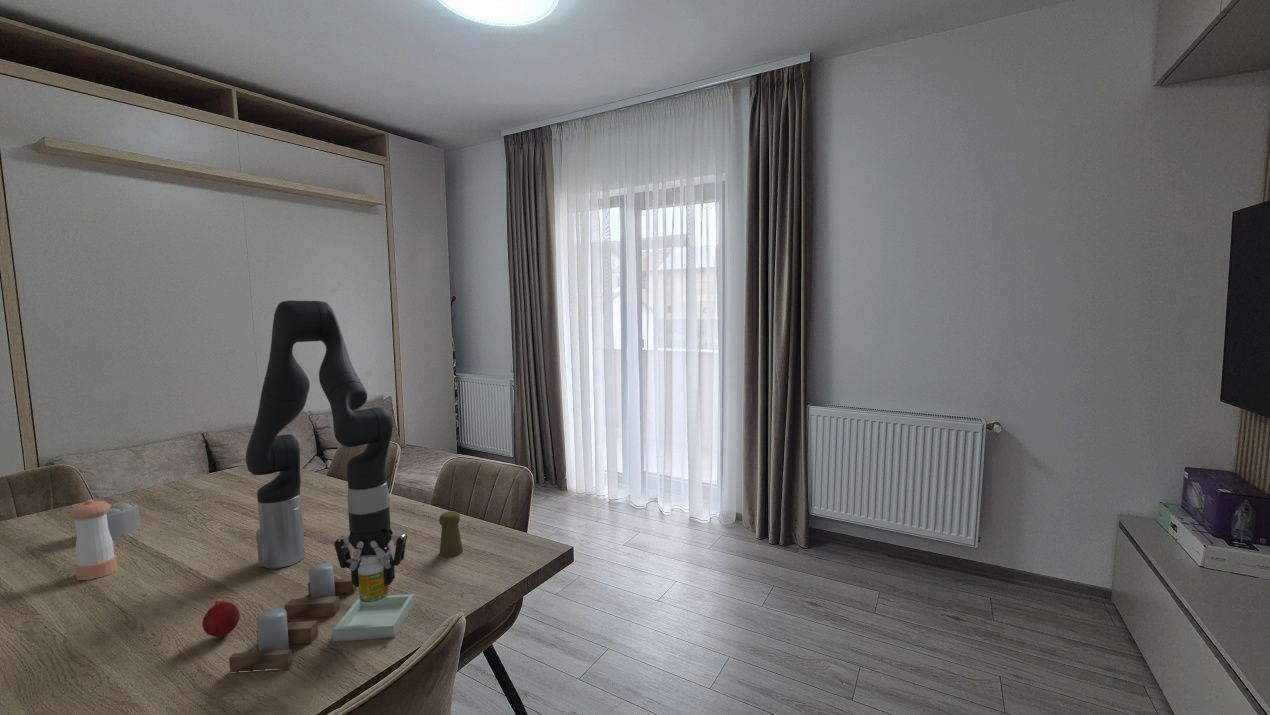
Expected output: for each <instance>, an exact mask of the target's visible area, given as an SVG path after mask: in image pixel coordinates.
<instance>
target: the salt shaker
mask: <svg viewBox="0 0 1270 715" xmlns="http://www.w3.org/2000/svg"><path fill="white" fill-rule="evenodd" d="M109 504H110V503H108V502H107V501H101V500H94V499H87V500H86V501H85V502H84V503H81V504H78V505H77V506H74V507H73V508H72V509H71V511H70V512H69V513H70V514H69V517H70V518H71V519H72V520H74V522H76V523H75V530H76V531H75V532H76V542H75V550H74V553H75V559H76V563H75V565H74V570H75V572H74V573H75V578H76V579H77V581H78V580H87V581H90V580H89V579H93V580H95V579H94V578H97V579H100V578H99V577H101V578H103V577H102V576H104V577H106V576H105V575H107V576H109V575H112V574H113V573H115V572H116V571H117V570H118V559H117V554H115V553H114V552H115V551H114V540H113V539H112V538H111V535H110V532H109V529H108V522H107V514H106V513H108V512H109V510H110V505H111V504H110V505H109ZM114 571H115V572H114ZM108 574H109V575H108Z"/></svg>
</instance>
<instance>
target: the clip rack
mask: <svg viewBox="0 0 1270 715" xmlns="http://www.w3.org/2000/svg"><path fill="white" fill-rule="evenodd" d="M334 584H335V595H338V596H335V597H317V598H311V590H310V581H309V582H307V590H308V593H307V594H308V597H305V598H303V597H302V598H300V597H299V598H290V599H289V601H287V603H286V602H285V603H286V604H284V609H285V610H286V615H287V618H292V619H307V618H322V617H324V618H325V617H335V616H336V615H337V614H338V613H339V612H340V610H341V602H340V596H339V595H346V594H347V595H348V594H355V592H357V587H355V586H354V585H353V584H352V579H351V578H337V579H335V578H334ZM287 628H288V640H289V645H293V644H295V645H296V644H299V645H300V644H311V643H313V642H314V640H315V639H317V637H318V636H319V624H318V620H308V621H303V620H302V621H291V622H290V621H289V622H288V621H287ZM256 636H257V638H256V639H257V640H258V632H257V631H256ZM258 645H259V644H258V643H257V646H258ZM228 660H229V661H228V662H229V671H230V672H239V671H253V670H265V669H288V668H289V667H290V666H291V665H292V666H293V655H292V649H289V650H278V651H262V652H259V651H250V652H234V653H232V654H231V655H230V656H229V658H228ZM292 666H291V667H292ZM291 667H290V668H291ZM290 668H289V669H290Z"/></svg>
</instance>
